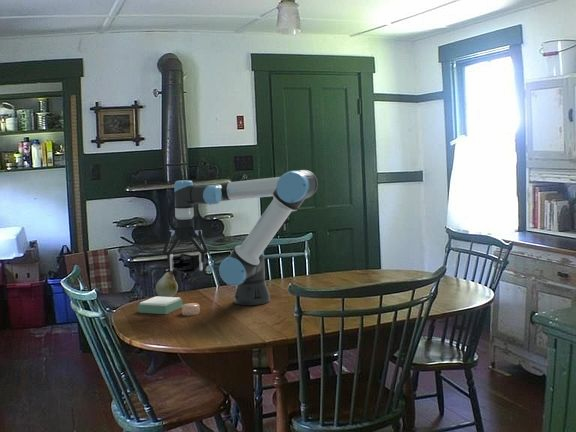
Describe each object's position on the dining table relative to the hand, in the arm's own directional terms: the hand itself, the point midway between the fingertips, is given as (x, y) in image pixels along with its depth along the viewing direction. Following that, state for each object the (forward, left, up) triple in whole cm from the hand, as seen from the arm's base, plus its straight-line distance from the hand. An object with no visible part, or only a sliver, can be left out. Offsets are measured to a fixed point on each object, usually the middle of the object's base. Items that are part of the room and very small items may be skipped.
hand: (186, 270), depth 288 cm
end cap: (0, 0, 0) cm, 0 cm away
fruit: (+19, -14, -16) cm, 29 cm away
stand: (+9, +7, -15) cm, 19 cm away
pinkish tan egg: (-7, +10, -16) cm, 20 cm away
